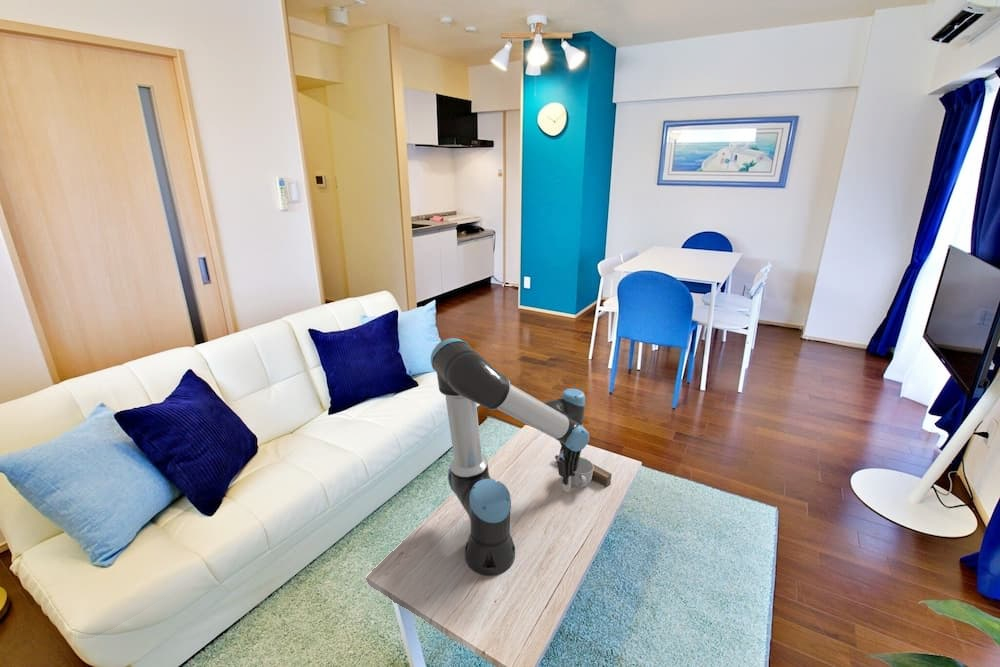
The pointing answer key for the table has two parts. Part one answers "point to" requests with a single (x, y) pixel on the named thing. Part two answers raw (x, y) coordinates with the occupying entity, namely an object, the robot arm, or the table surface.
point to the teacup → (582, 473)
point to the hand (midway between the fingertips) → (566, 490)
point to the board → (601, 476)
